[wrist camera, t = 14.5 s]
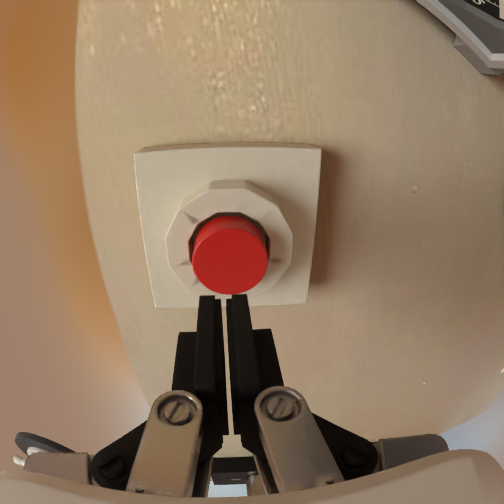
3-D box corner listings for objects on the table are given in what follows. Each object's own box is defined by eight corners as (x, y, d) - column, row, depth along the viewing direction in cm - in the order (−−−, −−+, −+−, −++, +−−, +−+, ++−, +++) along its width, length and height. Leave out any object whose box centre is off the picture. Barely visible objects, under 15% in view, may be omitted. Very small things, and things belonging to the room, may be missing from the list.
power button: (197, 277, 16) (195, 296, 15) (192, 215, 15) (188, 229, 13) (262, 275, 17) (266, 294, 15) (264, 214, 15) (269, 227, 13)
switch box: (160, 290, 21) (150, 326, 17) (143, 147, 16) (122, 158, 13) (299, 285, 22) (313, 321, 18) (311, 143, 17) (333, 154, 13)
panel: (214, 474, 37) (214, 487, 35) (208, 454, 33) (209, 470, 31) (302, 467, 39) (304, 480, 36) (310, 446, 35) (314, 462, 32)
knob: (245, 474, 33) (248, 506, 28) (277, 471, 33) (282, 503, 28) (246, 482, 35) (249, 512, 30) (275, 480, 35) (280, 509, 30)
